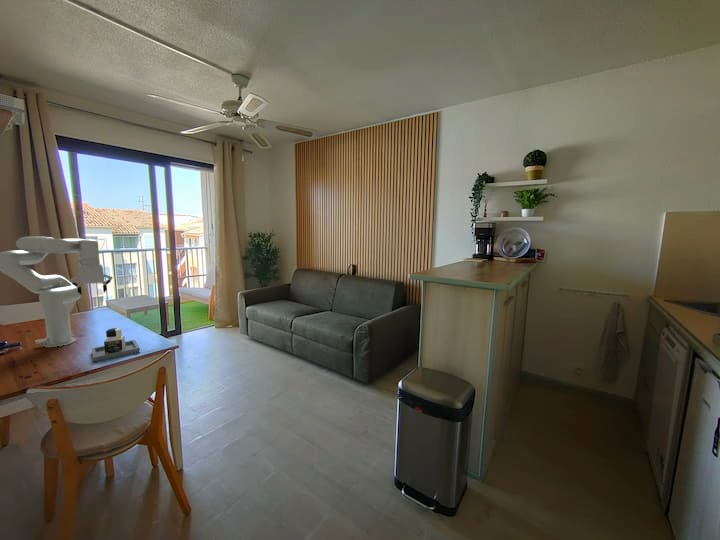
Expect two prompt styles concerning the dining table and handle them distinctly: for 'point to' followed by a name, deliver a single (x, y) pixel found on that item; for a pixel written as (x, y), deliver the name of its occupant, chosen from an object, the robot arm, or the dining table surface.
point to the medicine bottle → (114, 341)
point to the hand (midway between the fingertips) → (92, 293)
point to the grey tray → (100, 352)
